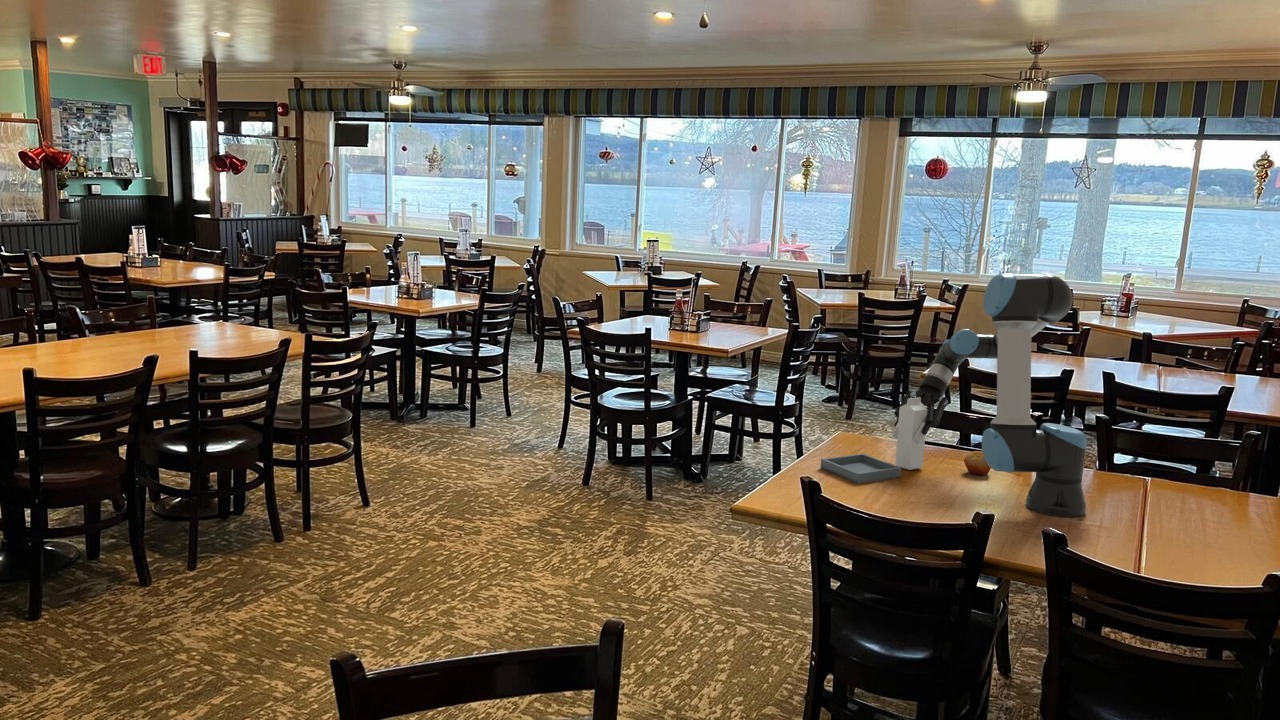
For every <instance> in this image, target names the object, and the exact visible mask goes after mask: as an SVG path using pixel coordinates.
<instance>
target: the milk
mask: <svg viewBox="0 0 1280 720" xmlns="http://www.w3.org/2000/svg"><path fill="white" fill-rule="evenodd" d="M926 416H927V406H924V405H923V404H922V403H921V397H918V398H916V397H914V398H910V399H908V400H907V404H905V405H903V406H901V407H900V409H899V422H898V435H897V439H896V450H895V461H894V462H895V464H894V465H896V466H898V467H901V469H905V470H909V471H911V470H917V469H922V468H923V466H924V457H925V456H924V453H925V442H926V435H923V437H922V439H921V441H920V443H919V444H916V442H915V440H914V437H915V435H916V433H917V431H918V430H919V428H920V426H921V424H922V422H925V420H926ZM925 423H926V422H925Z"/></svg>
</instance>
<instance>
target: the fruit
mask: <svg viewBox="0 0 1280 720" xmlns="http://www.w3.org/2000/svg"><path fill="white" fill-rule="evenodd" d="M963 462H964V466H965V467H966V469H967V472H968V473H969V474H970V473H971V475H975V474H976V475H978V476H987V475H988V474H989V473H990V471H991V469H992V468H991V467H990V466H989V465H988V464H987V462H986V460H985V458H984V455H983V450H974V451H971V452H969V453H968V454H966V456H965V457H964V459H963Z"/></svg>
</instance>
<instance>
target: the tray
mask: <svg viewBox="0 0 1280 720" xmlns="http://www.w3.org/2000/svg"><path fill="white" fill-rule="evenodd" d="M820 469H821V470H824V471H826V472H828V473H830V474H834V475H836V476H838V477H840V478H842V477H843V478H842V479H845V480H847V481H849V480H850V481H849V482H852V483H854V484H857V485H861V484H866V482H867V483H871V482H872V481H873V482H879V481H885V479H886V480H890V478H892V479H897V478H896V477H899V478H901V475H902V467H899V466H896V465H895V464H892V463H890V462H887V461H885V460H882V459H879V458H877V457H874V456H871V455H869V454H866V453H858V454H857V453H856V454H850V455H849V454H848V455H843V456H842V455H841V456H833V457H826V458H821V459H820Z"/></svg>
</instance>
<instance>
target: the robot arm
mask: <svg viewBox="0 0 1280 720" xmlns="http://www.w3.org/2000/svg"><path fill="white" fill-rule="evenodd" d="M1073 302H1074V298H1073V292H1072V290H1071V288H1070V286H1069V285H1068V283H1067V282H1066V281H1065V280H1063V279H1062V278H1061V277H1059V276H1057V275H1054V274H1045V273H1044V274H1039V273H1037V274H1036V273H1017V272H1016V273H1014V272H1013V273H1011V272H1009V273H998V274H996V275H994V276H993V277H992V278H991V279H990V280H989V282H988V284H987V286H986V288H985V291H984V297H983V308H984V312H985V314H986V315H988V316H989V317H991V324H992V325H993V326H994V327H995V328H996V329H997V333H995V334H979V333H978V334H977V333H976V331H973V330H971V329H969V328H962V329H960V330H958V331H957V332H955V334H953V335H952V336H951V337H950V338H949V339H946V340H945V341H944V342H943V343H942V345H941V346H940V347H939V351H938V353H937V354H936V356H935V357H934V360H933V362H932V363H931V365H930V367H929V368H928V370H927V372H926V374H925V376H924V377H923V380H922V381H921V382H920V385H919V388H918V389H917V390H916V391H911V390H907V391H906V395H905V397H904V398H903V400H901V403H900V404H899V405H898V407H897V408H896V409H895V411H894V413H893V414H894V416H895V418H896V421H895V423H894V425H893V426H894V429H893V431H892V433H891V435H892V437H893V439H895V440H897V435H898V422H899V409H900V407H901V406H903V405H905V404H907V400H908V399H910V398H912V397H913V398H918V397H921V403H922V404H923V405H924V406H925V407H926V408H927V416H926V420H925V422H926V423H925V422H922V424H921V426H920V428H919V430H918V431H917V433H916V435H915V437H914V440H915V442H916V444H919V443H920V441H921V439H922V437H923V435H925V436H926V435H927V434H928V432H929V430H930V428H931V427H936V428H937V427H938V426H939V424H940V421H941V418H942V416H943V413H944V411H945V408H946V407H947V406H948V405H949V400H948V399H947V397H945V396H944V394H945V392H946V390H947V387H948V386H949V384H950V383H951V381H952V379H953V376H954V374H955V373H956V371H957V370H958V368H959V366H960V365H961V364H962V363H963V362H964V361H965V360H966V359H995V360H997V363H996V365H997V367H996V416H995V417H994V418H993V419H992V420H991V421H990V428H987V429H985V430H984V431H983V432H982V437H981V449H982V450H981V451H983V455H984V458H985V460H986V462H987V464H988V465H989V466H990V467H991V469H992V471H993V470H994V471H995V472H1005V473H1009V474H1010V473H1035V479H1034V480H1033V482H1032V485H1031V487H1030V489H1029V492H1028V494H1027V495H1026V499H1025V505H1026V507H1028V508H1029V509H1030V510H1032V511H1034V512H1038V513H1040V514H1044V515H1047V516H1053V517H1062V518H1076V517H1081V516H1084V515H1085V514H1086V511H1087V504H1086V501H1085V494H1084V491H1083V490H1084V489H1083V485H1082V483H1083V475H1084V474H1083V473H1084V466H1085V465H1084V464H1085V458H1086V451H1087V435H1086V434H1085V433H1084V432H1083V431H1081V430H1079V429H1076V428H1073V427H1070V426H1067V425H1063V424H1058V423H1051V422H1044V423H1042V424H1041V425H1040V428H1039V429H1037V422H1035V420H1033V419H1032V417H1031V403H1032V402H1031V400H1032V398H1031V396H1032V395H1031V394H1032V393H1031V392H1032V391H1031V388H1032V385H1031V383H1032V381H1031V380H1032V379H1031V378H1032V338H1033V337H1034V336H1035V335H1037V334H1038V333H1040V332H1041V330H1043V329H1044V328H1046V327H1047V326H1048V325H1049V324H1054V323H1057V322H1059V321H1061V320H1062V319H1063V318H1064V317H1066V316H1067V314H1069V312H1070V310H1071V309H1072V306H1073ZM937 403H938V404H937ZM936 404H937V407H936V409H935V405H936ZM934 410H935V412H934Z"/></svg>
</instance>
